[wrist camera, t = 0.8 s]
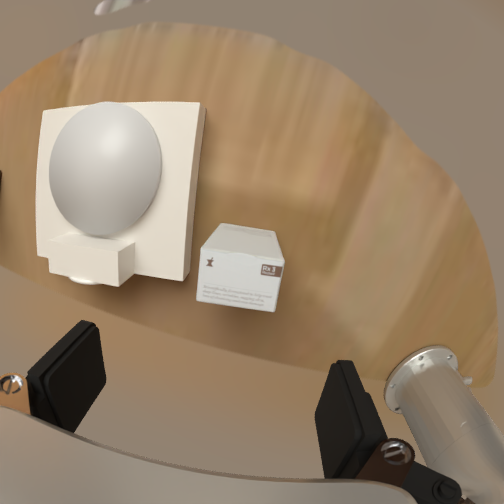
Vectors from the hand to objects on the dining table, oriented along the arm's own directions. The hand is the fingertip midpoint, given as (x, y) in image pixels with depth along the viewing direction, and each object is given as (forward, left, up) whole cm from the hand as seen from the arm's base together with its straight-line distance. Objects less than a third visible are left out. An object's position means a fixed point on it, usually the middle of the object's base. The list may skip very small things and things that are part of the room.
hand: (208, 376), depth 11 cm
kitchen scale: (+16, -5, -23) cm, 28 cm away
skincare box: (0, 0, -23) cm, 23 cm away
